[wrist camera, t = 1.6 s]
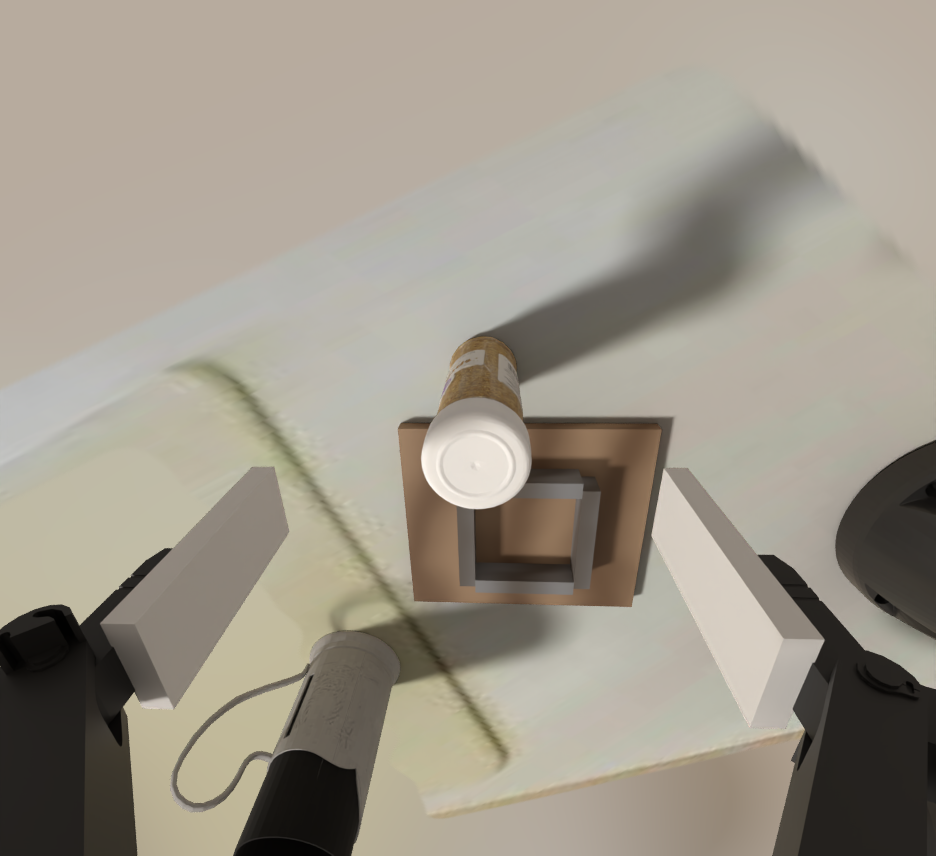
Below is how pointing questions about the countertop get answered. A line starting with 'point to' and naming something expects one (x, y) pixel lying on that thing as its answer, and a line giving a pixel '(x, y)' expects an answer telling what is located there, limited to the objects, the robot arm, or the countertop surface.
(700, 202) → the countertop surface
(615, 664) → the countertop surface
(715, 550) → the robot arm
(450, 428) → the sprinkles bottle
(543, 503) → the socket board
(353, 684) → the grey mug
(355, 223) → the countertop surface
